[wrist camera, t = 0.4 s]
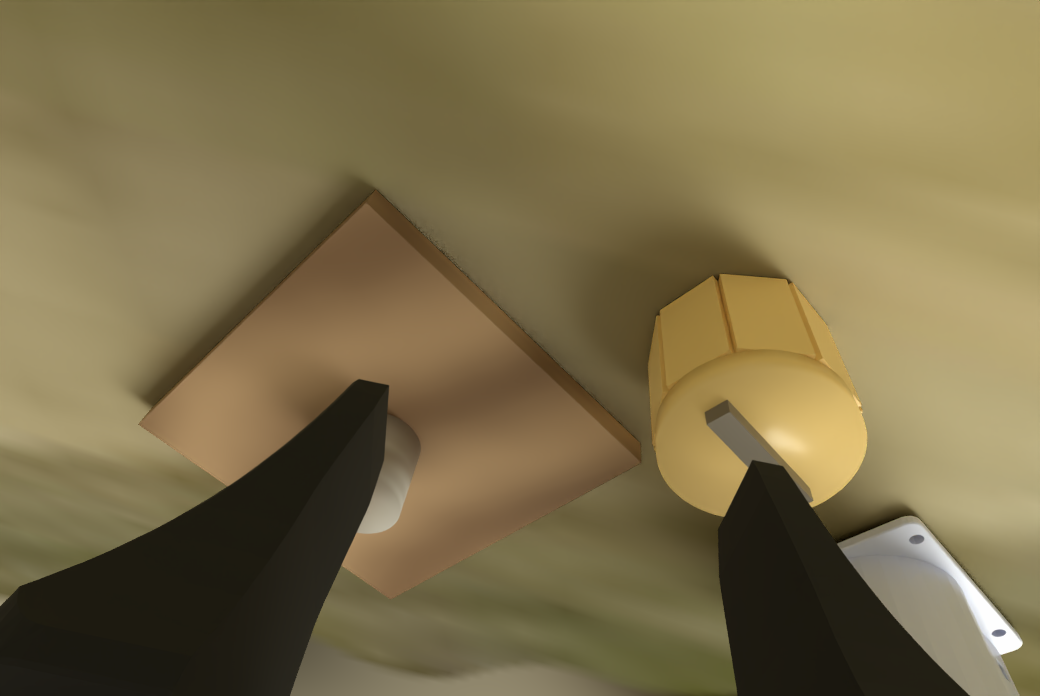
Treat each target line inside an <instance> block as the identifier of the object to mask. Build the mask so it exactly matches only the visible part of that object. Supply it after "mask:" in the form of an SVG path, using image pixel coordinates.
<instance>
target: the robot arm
mask: <svg viewBox="0 0 1040 696" xmlns="http://www.w3.org/2000/svg"><path fill="white" fill-rule="evenodd" d="M388 397H389V385H386V384H381V383H376V382H371V381H367V380H362V379H358V380H356V381H354V382H353V383H352V384H351V385H350V386H349V387H348V388H347V389H346V390H345V391H344V392H343V393H342V394H341V395H340V396H339V397H338V398H337V399H336V400H335V401H334V402H333V403H331V404H330V405H329V406H328V407H327V408H326V409H325V410H324V411H323V412H322V413H321V414H320V415H318V416H317V417H316V418H315V419H314V420H313V421H312V422H311V423H309V424H308V425H307V426H306V427H305V428H304V429H302V430H301V431H300V432H299V433H298V434H297V435H295V436H294V437H293V438H292V439H291V440H290V441H288V442H287V443H286V444H285V445H283V446H282V447H281V448H280V449H278V450H277V451H276V452H274V453H273V454H272V455H271V456H269V457H268V458H267V459H265V460H264V461H263V462H261V463H260V464H259V465H257V466H256V467H255V468H254V469H252V470H251V471H249V472H248V473H247V474H245V475H244V476H242V477H241V478H239V479H238V480H237V481H235V482H234V483H232V484H231V485H229V486H228V487H226V488H225V489H223V490H221V491H220V492H218V493H217V494H215V495H214V496H212V497H211V498H209V499H207V500H206V501H204V502H202V503H201V504H199V505H197V506H196V507H194V508H192V509H190V510H189V511H187V512H185V513H183V514H182V515H180V516H178V517H177V518H175V519H173V520H171V521H169V522H167V523H166V524H164V525H162V526H160V527H158V528H156V529H154V530H152V531H150V532H148V533H146V534H144V535H142V536H140V537H138V538H136V539H134V540H132V541H129V542H127V543H125V544H123V545H121V546H119V547H117V548H115V549H113V550H111V551H108V552H106V553H104V554H102V555H99V556H97V557H95V558H92V559H90V560H88V561H85V562H83V563H80V564H78V565H75V566H72V567H70V568H67V569H65V570H62V571H59V572H57V573H54V574H52V575H49V576H46V577H44V578H41V579H39V580H36V581H33V582H31V583H28V584H25V585H22V586H20V587H19V588H18V589H17V590H16V591H15V592H14V593H13V594H12V595H11V596H10V597H9V598H8V599H7V600H6V601H5V602H4V603H3V604H2V605H1V606H0V696H290V694H291V690H292V688H293V685H294V682H295V679H296V676H297V673H298V670H299V667H300V665H301V662H302V659H303V656H304V653H305V650H306V648H307V645H308V642H309V639H310V636H311V634H312V631H313V628H314V625H315V623H316V620H317V618H318V615H319V613H320V611H321V608H322V606H323V603H324V601H325V599H326V597H327V595H328V593H329V590H330V588H331V586H332V584H333V582H334V580H335V578H336V576H337V573H338V571H339V569H340V567H341V565H342V563H343V561H344V559H345V556H346V554H347V552H348V550H349V548H350V546H351V544H352V542H353V539H354V537H355V535H356V533H357V531H358V529H359V527H360V524H361V522H362V520H363V518H364V516H365V514H366V511H367V509H368V507H369V505H370V502H371V499H372V496H373V493H374V490H375V487H376V484H377V481H378V478H379V474H380V471H381V468H382V465H383V462H384V454H385V440H386V426H387V411H388ZM914 535H915V536H914ZM718 548H719V578H720V585H721V592H722V599H723V605H724V612H725V618H726V625H727V631H728V637H729V643H730V649H731V656H732V662H733V668H734V674H735V680H736V687H737V695H738V696H1019V693H1018V691H1017V689H1016V687H1015V685H1014V683H1013V681H1012V679H1011V677H1010V674H1009V672H1008V670H1007V668H1006V666H1005V664H1004V662H1003V660H1002V658H1001V656H1000V655H1001V654H1004V653H1008V652H1011V651H1014V650H1017V649H1019V648H1020V647H1021V646H1022V643H1023V642H1022V640H1021V638H1020V636H1019V634H1018V633H1017V632H1016V630H1015V629H1014V628H1013V627H1012V626H1011V625H1010V623H1009V622H1008V621H1007V620H1006V619H1005V618H1004V616H1003V615H1002V614H1001V613H1000V612H999V611H998V609H997V608H996V607H995V606H994V605H993V604H992V602H991V601H990V600H989V599H988V598H987V597H986V595H985V594H984V593H983V592H982V591H981V590H980V589H979V587H978V586H977V585H976V584H975V583H974V582H973V580H972V579H971V578H970V577H969V576H968V575H967V573H966V572H965V571H964V570H963V569H962V568H961V566H960V565H959V564H958V563H957V562H956V561H955V559H954V558H953V557H952V556H951V555H950V554H949V552H948V551H947V550H946V549H945V548H944V547H943V546H942V544H941V543H940V542H939V541H938V540H937V539H936V537H935V536H934V535H933V534H932V533H931V532H930V530H929V529H928V528H927V527H926V526H925V525H924V523H923V522H922V521H921V520H920V519H919V518H917V517H914V516H904V517H900V518H898V519H895V520H893V521H891V522H888V523H886V524H883V525H881V526H878V527H876V528H874V529H871V530H869V531H866V532H864V533H862V534H859V535H857V536H854V537H852V538H849V539H847V540H845V541H842V542H840V543H836V542H835V541H834V539H833V538H832V536H831V535H830V533H829V532H828V531H827V529H826V528H825V526H824V525H823V523H822V522H821V520H820V519H819V518H818V516H817V515H816V513H815V512H814V510H813V509H812V507H811V506H810V504H809V503H808V501H807V500H806V498H805V497H804V495H803V494H802V492H801V491H800V489H799V488H798V486H797V485H796V484H795V482H794V481H793V479H792V478H791V476H790V475H789V473H788V472H787V471H786V469H785V468H784V466H780V465H776V464H771V463H766V462H761V461H756V460H752V462H751V464H750V466H749V468H748V470H747V472H746V474H745V476H744V478H743V480H742V482H741V484H740V486H739V488H738V490H737V492H736V494H735V496H734V498H733V500H732V502H731V504H730V506H729V508H728V510H727V512H726V514H725V517H724V519H723V521H722V523H721V525H720V527H719V529H718Z"/></svg>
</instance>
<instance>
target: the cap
mask: <svg viewBox="0 0 1040 696" xmlns="http://www.w3.org/2000/svg"><path fill="white" fill-rule="evenodd" d="M648 376H649V394H650V412H651V430H652V445H654V451H655V452H656V458H657V463H658V467H659V470H660V472H661V474H662V477H663V478H664V480H665V481H666V483H667V484H668V486H669V487H670V488H671V489H672V490H673V491H674V492H675V493H676V494H677V495H678V496H679V497H681V498H682V499H683V500H684V501H686V502H688V503H689V504H691V505H692V506H694V507H696V508H698V509H701V510H703V511H705V512H708V513H711V514H714V515H718V516H722V517H725V514H726V512H727V510H728V508H729V506H730V504H731V502H732V500H733V498H734V496H735V494H736V492H737V490H738V488H739V486H740V484H741V482H742V480H743V478H744V476H745V474H746V472H747V470H748V468H749V466H750V464H751V462H752V460H756V461H761V462H766V463H771V464H776V465H780V466H784V468H785V469H786V471H787V472H788V473H789V475H790V476H791V478H792V479H793V481H794V482H795V484H796V485H797V486H798V488H799V489H800V491H801V492H802V494H803V495H804V497H805V498H806V500H807V501H808V503H809V504H810V506H811V507H812V508H813V507H815V506H817V505H819V504H821V503H823V502H824V501H826V500H828V499H829V498H831V497H832V496H834V495H835V494H836V493H838V492H839V491H840V490H841V489H842V488H844V487H845V485H846V484H847V483H848V482H849V481H850V480H851V479H852V478H853V476H854V475H855V474H856V472H857V471H858V469H859V467H860V465H861V463H862V462H863V459H864V456H865V453H866V447H867V430H866V426H865V422H864V419H863V417H862V412H863V411H862V408H861V406H862V404H861V402H860V400H859V397H858V395H857V393H856V391H855V388H854V386H853V384H852V381H851V379H850V377H849V375H848V372H847V370H846V368H845V366H844V363H843V361H842V359H841V356H840V354H839V352H838V350H837V347H836V345H835V343H834V340H833V338H832V336H831V334H830V331H829V329H828V327H827V325H826V323H825V322H824V321H823V320H822V318H821V317H820V316H819V315H818V314H817V312H816V311H815V310H814V309H813V307H812V306H811V305H810V304H809V302H808V301H807V300H806V299H805V297H804V296H803V295H802V294H801V292H800V291H799V290H798V289H797V287H796V286H795V285H794V284H793V282H792V283H790V284H788V282H787V280H786V279H778V278H766V277H754V276H741V275H729V274H720V275H719V280H718V281H717V280H716V279H715V278H714V276H711V277H710V278H708V279H707V280H705V281H704V282H702V283H701V284H699V285H698V286H696V287H695V288H693V289H691V290H690V291H688V292H687V293H685V294H684V295H682V296H681V297H679V298H678V299H676V300H675V301H673V302H672V303H670V304H669V305H667V306H666V307H664V308H663V309H661V310H660V316H658V315H656V320H655V326H654V332H653V338H652V344H651V350H650V356H649V361H648Z"/></svg>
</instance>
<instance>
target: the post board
mask: <svg viewBox="0 0 1040 696" xmlns="http://www.w3.org/2000/svg"><path fill="white" fill-rule="evenodd" d="M358 379H362V380H367V381H371V382H376V383H381V384H386V385H389V397H388V411H387V426H386V440H385V454H384V462H383V465H382V468H381V471H380V474H379V478H378V481H377V484H376V487H375V490H374V493H373V496H372V499H371V502H370V505H369V507H368V509H367V511H366V514H365V516H364V518H363V520H362V522H361V524H360V527H359V529H358V531H357V533H356V535H355V537H354V539H353V542H352V544H351V546H350V548H349V550H348V552H347V554H346V556H345V559H344V561H343V563H342V566H343V567H345V568H346V569H348V570H349V571H350V572H352V573H353V574H355V575H356V576H358V577H359V578H361V579H362V580H363V581H365V582H366V583H368V584H369V585H371V586H372V587H374V588H375V589H376V590H378V591H379V592H381V593H382V594H384V595H385V596H387V597H388V598H389V599H392V598H394V597H396V596H398V595H400V594H401V593H403V592H405V591H407V590H409V589H411V588H412V587H414V586H416V585H418V584H420V583H422V582H423V581H425V580H427V579H429V578H431V577H433V576H434V575H436V574H438V573H440V572H442V571H444V570H445V569H447V568H449V567H451V566H453V565H455V564H457V563H458V562H460V561H462V560H464V559H466V558H468V557H469V556H471V555H473V554H475V553H477V552H479V551H480V550H482V549H484V548H486V547H488V546H490V545H491V544H493V543H495V542H497V541H499V540H501V539H502V538H504V537H506V536H508V535H510V534H512V533H513V532H515V531H517V530H519V529H521V528H523V527H525V526H526V525H528V524H530V523H532V522H534V521H536V520H537V519H539V518H541V517H543V516H545V515H547V514H548V513H550V512H552V511H554V510H556V509H558V508H559V507H561V506H563V505H565V504H567V503H569V502H570V501H572V500H574V499H576V498H578V497H580V496H582V495H583V494H585V493H587V492H589V491H591V490H593V489H594V488H596V487H598V486H600V485H602V484H604V483H605V482H607V481H609V480H611V479H613V478H615V477H616V476H618V475H620V474H622V473H624V472H626V471H627V470H629V469H631V468H633V467H635V466H637V465H638V464H640V463H641V444H640V443H639V442H638V441H637V440H636V439H635V438H634V437H633V436H632V435H631V434H630V433H629V432H628V431H627V430H626V429H625V428H624V427H623V426H622V425H621V424H620V423H619V422H617V421H616V420H615V419H614V418H613V417H612V416H611V415H610V414H609V413H608V412H607V411H606V410H605V409H604V408H603V407H602V406H601V405H600V404H599V403H598V402H597V401H596V400H595V399H594V398H592V397H591V396H590V395H589V394H588V393H587V392H586V391H585V390H584V389H583V388H582V387H581V386H580V385H579V384H578V383H577V382H576V381H575V380H574V379H573V378H572V377H571V376H570V375H569V374H567V373H566V372H565V371H564V370H563V369H562V368H561V367H560V366H559V365H558V364H557V363H556V362H555V361H554V360H553V359H552V358H551V357H550V356H549V355H548V354H547V353H546V352H545V351H544V350H542V349H541V348H540V347H539V346H538V345H537V344H536V343H535V342H534V341H533V340H532V339H531V338H530V337H529V336H528V335H527V334H526V333H525V332H524V331H523V330H522V329H521V328H520V327H519V326H517V325H516V324H515V323H514V322H513V321H512V320H511V319H510V318H509V317H508V316H507V315H506V314H505V313H504V312H503V311H502V310H501V309H500V308H499V307H498V306H497V305H496V304H495V303H494V302H492V301H491V300H490V299H489V298H488V297H487V296H486V295H485V294H484V293H483V292H482V291H481V290H480V289H479V288H478V287H477V286H476V285H475V284H474V283H473V282H472V281H471V280H470V279H469V278H467V277H466V276H465V275H464V274H463V273H462V272H461V271H460V270H459V269H458V268H457V267H456V266H455V265H454V264H453V263H452V262H451V261H450V260H449V259H448V258H447V257H446V256H445V255H444V254H443V253H441V252H440V251H439V250H438V249H437V248H436V247H435V246H434V245H433V244H432V243H431V242H430V241H429V240H428V239H427V238H426V237H425V236H424V235H423V234H422V233H421V232H420V231H419V230H418V229H416V228H415V227H414V226H413V225H412V224H411V223H410V222H409V221H408V220H407V219H406V218H405V217H404V216H403V215H402V214H401V213H400V212H399V211H398V210H397V209H396V208H395V207H394V206H393V205H391V204H390V203H389V202H388V201H387V200H386V199H385V198H384V197H383V196H382V195H381V194H380V193H379V192H378V191H377V190H375V191H374V192H373V193H372V194H371V195H370V196H369V197H368V198H367V199H365V200H364V201H363V202H362V203H361V204H360V205H359V206H358V207H357V208H356V209H355V210H354V211H353V212H352V213H351V214H350V215H349V216H348V217H347V218H346V219H345V220H344V221H343V222H342V223H341V224H340V225H339V226H338V227H337V228H336V229H335V230H334V231H333V232H332V233H331V234H330V235H329V236H328V237H327V238H326V239H325V240H324V241H322V242H321V243H320V244H319V245H318V246H317V247H316V248H315V249H314V250H313V251H312V252H311V253H310V254H309V255H308V256H307V257H306V258H305V259H304V260H303V261H302V262H301V263H300V264H299V265H298V266H297V267H296V268H295V269H294V270H293V271H292V272H291V273H290V274H289V275H288V276H287V277H286V278H285V279H284V280H283V281H282V282H280V283H279V284H278V285H277V286H276V287H275V288H274V289H273V290H272V291H271V292H270V293H269V294H268V295H267V296H266V297H265V298H264V299H263V300H262V301H261V302H260V303H259V304H258V305H257V306H256V307H255V308H254V309H253V310H252V311H251V312H250V313H249V314H248V315H247V316H246V317H245V318H244V319H243V320H242V321H241V322H240V323H239V324H237V325H236V326H235V327H234V328H233V329H232V330H231V331H230V332H229V333H228V334H227V335H226V336H225V337H224V338H223V339H222V340H221V341H220V342H219V343H218V344H217V345H216V346H215V347H214V348H213V349H212V350H211V351H210V352H209V353H208V354H207V355H206V356H205V357H204V358H203V359H202V360H201V361H200V362H199V363H198V364H197V365H195V366H194V367H193V368H192V369H191V370H190V371H189V372H188V373H187V374H186V375H185V376H184V377H183V378H182V379H181V380H180V381H179V382H178V383H177V384H176V385H175V386H174V387H173V388H172V389H171V390H170V391H169V392H168V393H167V394H166V395H165V396H164V397H163V398H162V399H161V400H160V401H159V402H158V403H157V404H156V405H155V406H154V407H152V409H151V410H150V411H149V412H148V413H147V415H146V416H145V417H144V418H143V419H142V421H141V422H140V423H139V424H138V425H140V426H141V427H143V428H144V429H146V430H147V431H149V432H150V433H151V434H153V435H154V436H156V437H157V438H159V439H160V440H162V441H163V442H164V443H166V444H167V445H169V446H170V447H172V448H173V449H175V450H176V451H177V452H179V453H180V454H182V455H183V456H185V457H186V458H188V459H189V460H190V461H192V462H193V463H195V464H196V465H198V466H199V467H200V468H202V469H203V470H205V471H206V472H208V473H209V474H211V475H212V476H213V477H215V478H216V479H218V480H219V481H221V482H222V483H224V484H225V485H226V486H229V485H231V484H232V483H234V482H235V481H237V480H238V479H239V478H241V477H242V476H244V475H245V474H247V473H248V472H249V471H251V470H252V469H254V468H255V467H256V466H257V465H259V464H260V463H261V462H263V461H264V460H265V459H267V458H268V457H269V456H271V455H272V454H273V453H274V452H276V451H277V450H278V449H280V448H281V447H282V446H283V445H285V444H286V443H287V442H288V441H290V440H291V439H292V438H293V437H294V436H295V435H297V434H298V433H299V432H300V431H301V430H302V429H304V428H305V427H306V426H307V425H308V424H309V423H311V422H312V421H313V420H314V419H315V418H316V417H317V416H318V415H320V414H321V413H322V412H323V411H324V410H325V409H326V408H327V407H328V406H329V405H330V404H331V403H333V402H334V401H335V400H336V399H337V398H338V397H339V396H340V395H341V394H342V393H343V392H344V391H345V390H346V389H347V388H348V387H349V386H350V385H351V384H352V383H353V382H354V381H356V380H358Z"/></svg>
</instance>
